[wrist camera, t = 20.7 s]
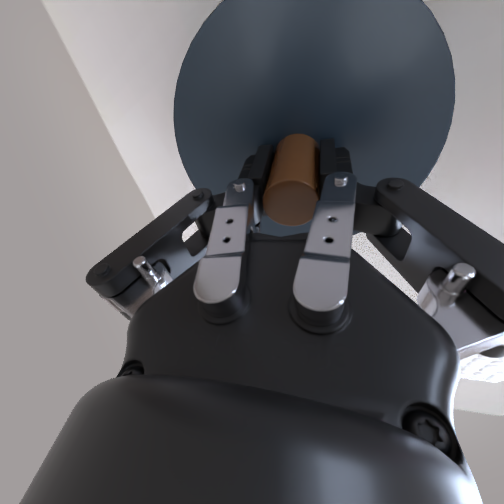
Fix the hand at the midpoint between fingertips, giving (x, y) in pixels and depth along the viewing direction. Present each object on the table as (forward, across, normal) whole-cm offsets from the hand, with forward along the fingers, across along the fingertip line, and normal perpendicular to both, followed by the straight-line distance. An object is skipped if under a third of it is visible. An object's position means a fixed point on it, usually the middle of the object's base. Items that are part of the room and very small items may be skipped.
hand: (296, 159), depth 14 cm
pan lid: (+1, 0, 0) cm, 1 cm away
